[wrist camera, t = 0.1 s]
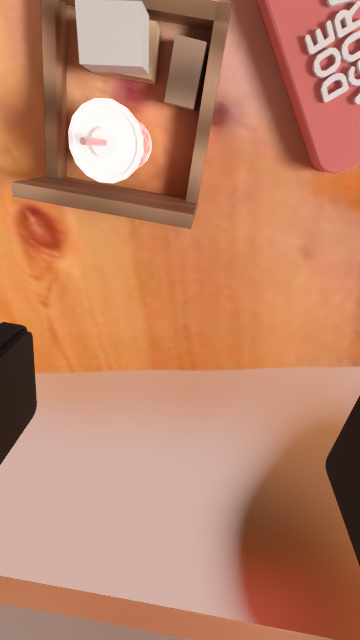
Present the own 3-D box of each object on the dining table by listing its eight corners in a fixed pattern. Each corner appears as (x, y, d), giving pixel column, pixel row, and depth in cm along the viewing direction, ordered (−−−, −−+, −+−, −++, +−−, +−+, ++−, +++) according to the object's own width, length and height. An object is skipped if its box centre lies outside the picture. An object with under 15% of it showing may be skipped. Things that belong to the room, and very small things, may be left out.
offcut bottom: (97, 21, 30) (86, 9, 28) (161, 32, 30) (156, 21, 28) (96, 74, 32) (85, 67, 30) (156, 85, 32) (151, 79, 30)
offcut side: (177, 41, 31) (175, 33, 28) (207, 49, 31) (206, 42, 28) (167, 104, 33) (164, 101, 31) (194, 111, 33) (193, 109, 31)
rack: (52, -17, 29) (-8, -79, 21) (230, 14, 29) (236, -37, 21) (56, 186, 37) (12, 196, 29) (195, 212, 37) (190, 228, 29)
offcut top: (88, 13, 28) (74, -2, 25) (149, 15, 28) (141, 0, 25) (91, 71, 30) (79, 64, 27) (148, 74, 29) (142, 66, 27)
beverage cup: (169, 156, 35) (145, 160, 22) (122, 187, 37) (75, 205, 24) (138, 96, 33) (92, 63, 20) (89, 132, 34) (19, 121, 22)
